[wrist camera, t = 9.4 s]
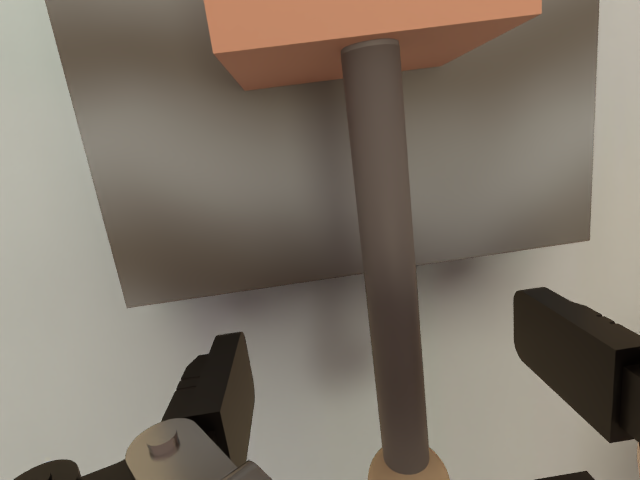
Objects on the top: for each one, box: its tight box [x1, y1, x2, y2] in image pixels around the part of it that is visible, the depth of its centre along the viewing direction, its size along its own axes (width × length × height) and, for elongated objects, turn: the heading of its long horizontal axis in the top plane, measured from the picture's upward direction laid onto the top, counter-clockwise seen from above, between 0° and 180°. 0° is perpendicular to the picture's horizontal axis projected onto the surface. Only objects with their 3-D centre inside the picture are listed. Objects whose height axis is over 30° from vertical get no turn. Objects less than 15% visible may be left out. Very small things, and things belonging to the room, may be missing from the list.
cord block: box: [204, 0, 542, 480], centre depth 10 cm, size 18×6×5 cm, turn 7°
